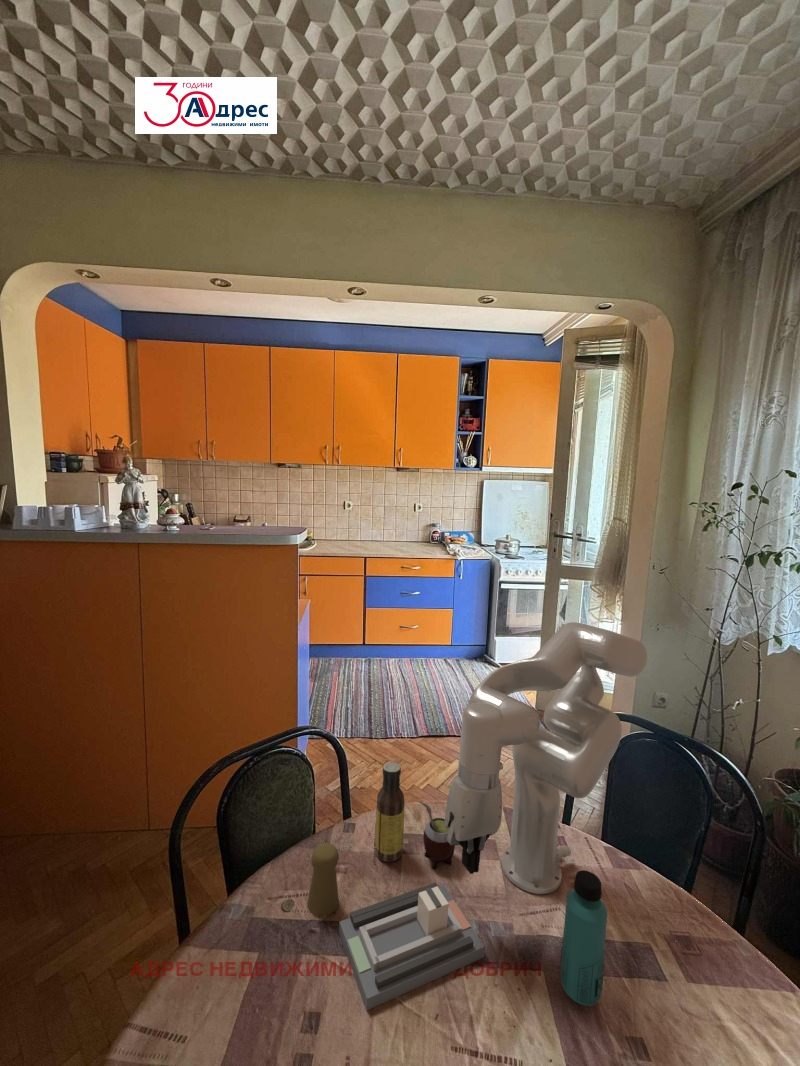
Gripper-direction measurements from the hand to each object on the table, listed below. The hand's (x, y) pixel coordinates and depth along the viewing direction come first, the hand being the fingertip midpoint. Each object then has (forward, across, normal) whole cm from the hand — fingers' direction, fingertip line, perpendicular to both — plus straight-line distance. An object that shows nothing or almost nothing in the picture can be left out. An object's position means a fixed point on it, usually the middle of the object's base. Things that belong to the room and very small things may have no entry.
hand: (470, 867), depth 86 cm
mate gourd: (+11, -2, -15) cm, 19 cm away
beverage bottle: (+11, -10, +18) cm, 23 cm away
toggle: (+9, +7, 0) cm, 11 cm away
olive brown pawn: (+12, +24, -14) cm, 30 cm away
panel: (+11, +12, 0) cm, 16 cm away
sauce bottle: (+11, +6, -21) cm, 25 cm away
